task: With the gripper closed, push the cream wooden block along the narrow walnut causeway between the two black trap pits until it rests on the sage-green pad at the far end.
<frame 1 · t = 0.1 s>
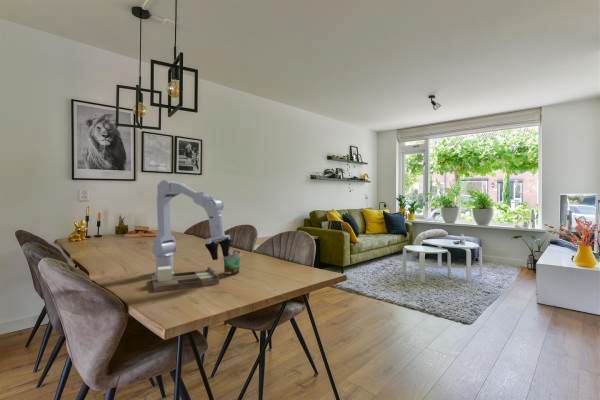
hand: (220, 258, 135), 11 cm above the table, tool pointing down, fingers open, 7 cm apart
food container: (234, 273, 151), on the table
block: (164, 279, 131), point 2 cm above the table, touching trap deck
trap deck: (184, 282, 135), on the table
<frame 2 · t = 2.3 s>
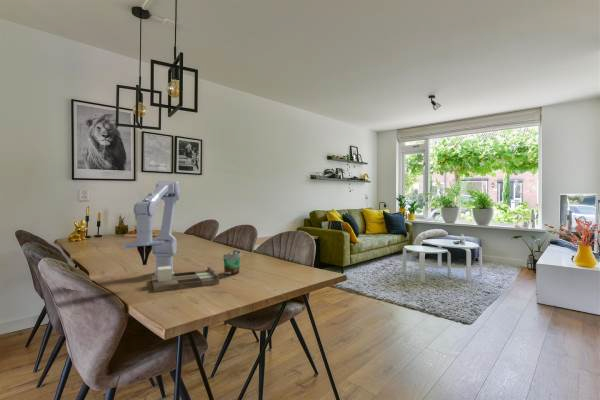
hand: (144, 264, 127), 9 cm above the table, tool pointing down, fingers closed
nothing on the table moved.
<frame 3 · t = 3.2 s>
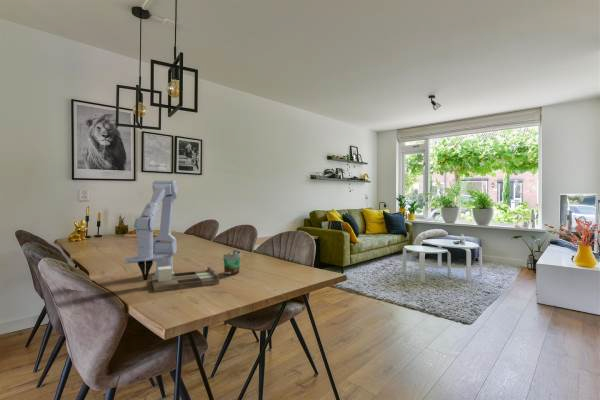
hand: (145, 279, 128), 3 cm above the table, tool pointing down, fingers closed
nothing on the table moved.
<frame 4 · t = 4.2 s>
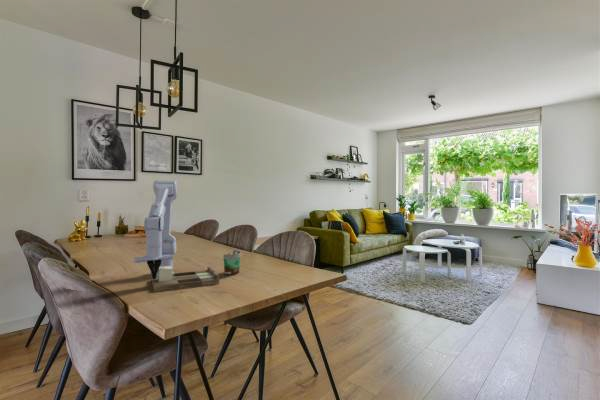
hand: (154, 278, 129), 3 cm above the table, tool pointing down, fingers closed
block: (165, 279, 131), point 2 cm above the table, touching gripper, trap deck
everything else where it was.
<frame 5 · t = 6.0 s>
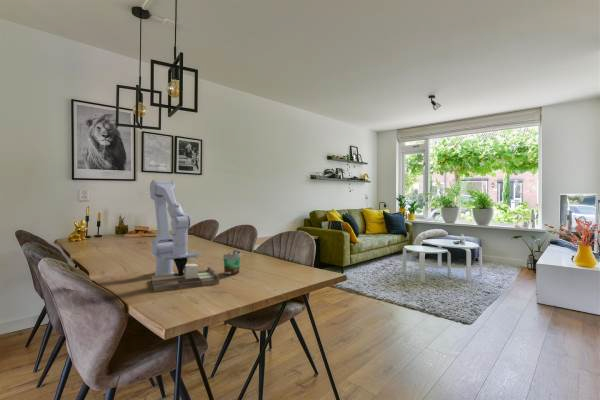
hand: (180, 275, 134), 3 cm above the table, tool pointing down, fingers closed
block: (190, 276, 136), point 2 cm above the table, touching gripper
everything else where it was.
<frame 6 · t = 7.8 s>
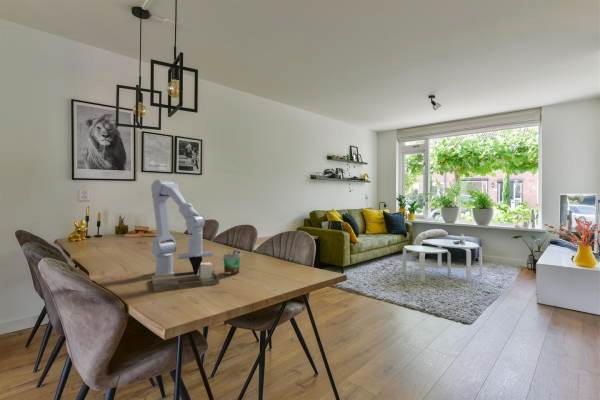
hand: (195, 274, 137), 3 cm above the table, tool pointing down, fingers closed
block: (205, 275, 139), point 2 cm above the table, touching gripper, trap deck
everything else where it was.
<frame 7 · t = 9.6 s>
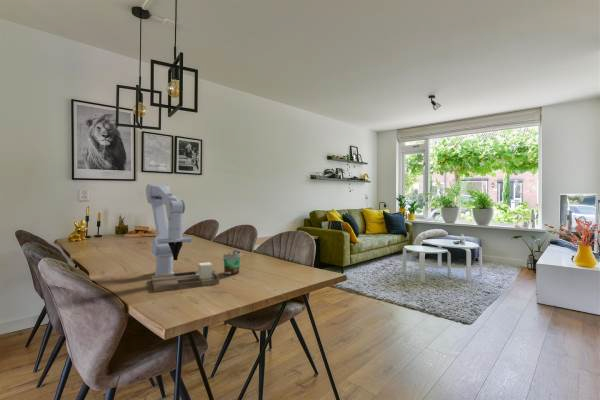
hand: (175, 259, 136), 9 cm above the table, tool pointing down, fingers closed
block: (205, 275, 139), point 2 cm above the table, touching trap deck
everything else where it was.
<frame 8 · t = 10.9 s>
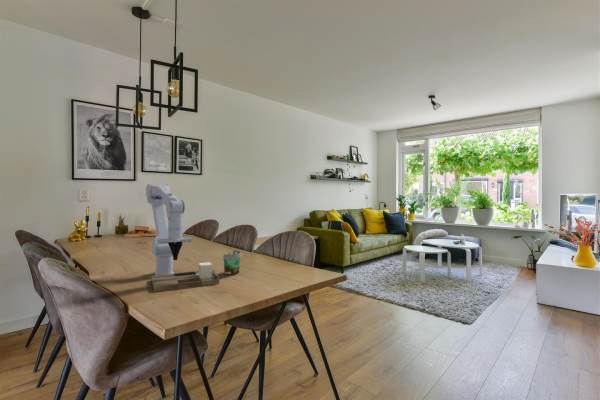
hand: (175, 259, 136), 9 cm above the table, tool pointing down, fingers closed
nothing on the table moved.
at the end: block 0.1 cm from the target spot, point 2.0 cm above the table; block tilted 0° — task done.
